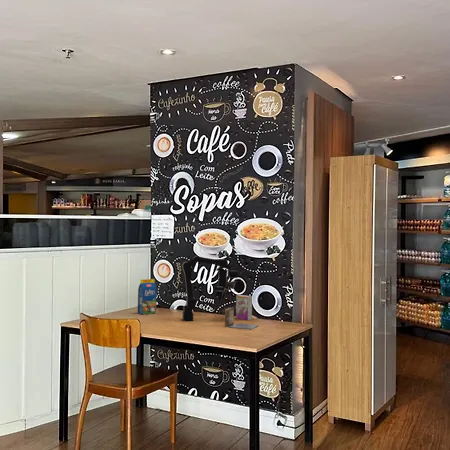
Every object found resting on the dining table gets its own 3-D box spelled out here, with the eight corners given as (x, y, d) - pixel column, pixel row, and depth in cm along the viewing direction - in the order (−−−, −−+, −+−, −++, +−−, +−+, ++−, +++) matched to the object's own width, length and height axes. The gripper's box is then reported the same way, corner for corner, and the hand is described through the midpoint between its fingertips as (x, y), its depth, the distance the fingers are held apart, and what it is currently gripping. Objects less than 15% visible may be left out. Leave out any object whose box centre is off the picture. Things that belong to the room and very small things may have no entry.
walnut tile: (224, 326, 364) (225, 309, 364) (230, 324, 374) (230, 307, 374) (228, 327, 363) (228, 309, 364) (233, 324, 373) (234, 307, 373)
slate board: (228, 327, 360) (228, 326, 360) (237, 324, 375) (237, 323, 375) (251, 329, 355) (251, 328, 355) (258, 325, 370) (258, 325, 370)
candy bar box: (235, 318, 400) (235, 295, 400) (240, 318, 404) (240, 294, 404) (247, 320, 392) (247, 296, 393) (252, 319, 396) (252, 296, 396)
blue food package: (156, 313, 417) (157, 279, 418) (142, 314, 410) (143, 279, 410) (151, 312, 422) (152, 278, 423) (137, 313, 414) (138, 279, 415)
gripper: (231, 278, 381) (230, 302, 380) (236, 277, 399) (235, 299, 399) (215, 278, 383) (214, 301, 383) (221, 276, 401) (220, 298, 401)
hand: (221, 300), depth 391 cm, fingers open, 9 cm apart
